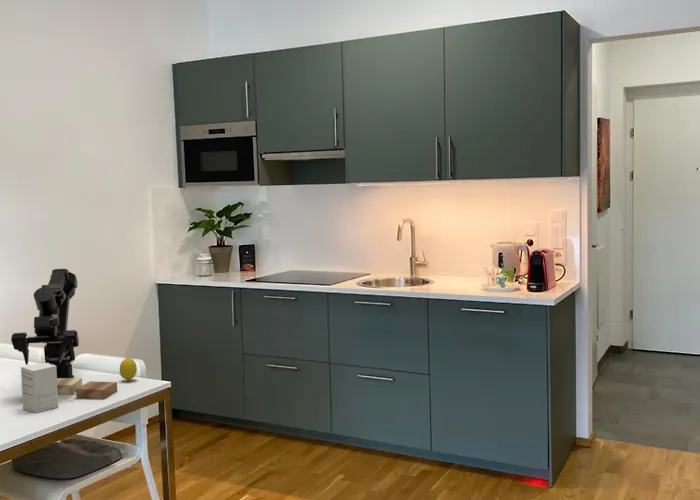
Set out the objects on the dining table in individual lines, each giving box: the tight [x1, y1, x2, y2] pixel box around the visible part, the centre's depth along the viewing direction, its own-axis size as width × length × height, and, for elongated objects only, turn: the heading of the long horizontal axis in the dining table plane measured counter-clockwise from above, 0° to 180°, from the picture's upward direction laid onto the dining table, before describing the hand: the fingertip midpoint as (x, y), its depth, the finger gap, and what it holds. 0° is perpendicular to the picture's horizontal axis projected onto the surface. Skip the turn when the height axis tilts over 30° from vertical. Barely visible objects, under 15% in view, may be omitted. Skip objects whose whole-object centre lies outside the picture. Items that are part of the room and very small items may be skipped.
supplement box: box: [20, 362, 59, 414], centre depth 210 cm, size 7×7×13 cm
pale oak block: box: [57, 377, 83, 396], centre depth 229 cm, size 9×9×3 cm
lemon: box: [119, 357, 138, 382], centre depth 240 cm, size 6×6×8 cm
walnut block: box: [75, 380, 118, 400], centre depth 224 cm, size 9×9×3 cm
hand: (42, 363), depth 215 cm, fingers open, 9 cm apart
